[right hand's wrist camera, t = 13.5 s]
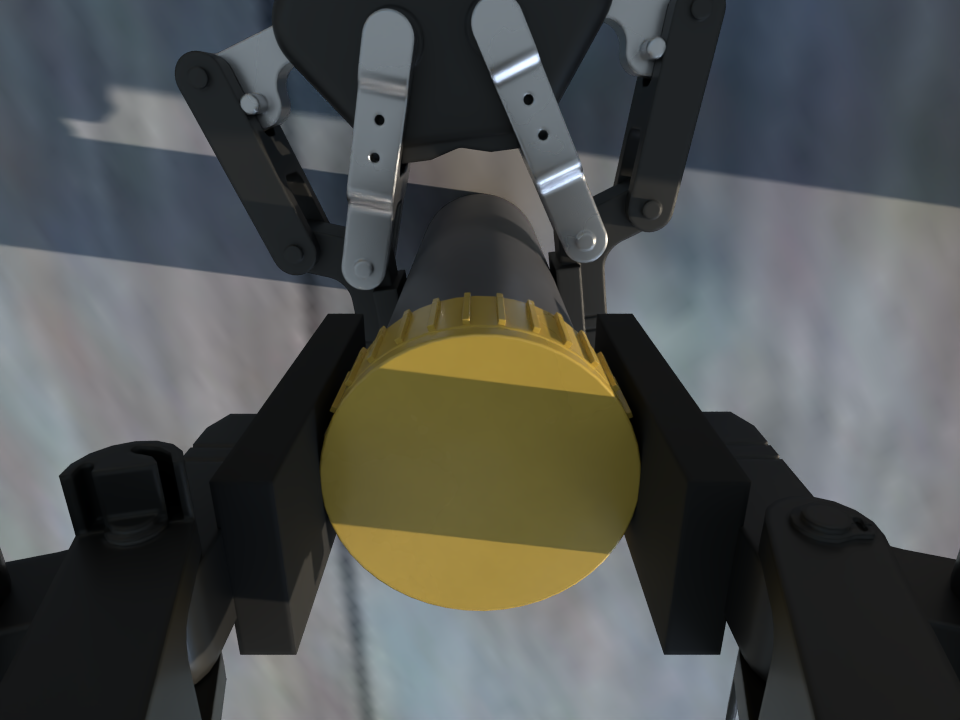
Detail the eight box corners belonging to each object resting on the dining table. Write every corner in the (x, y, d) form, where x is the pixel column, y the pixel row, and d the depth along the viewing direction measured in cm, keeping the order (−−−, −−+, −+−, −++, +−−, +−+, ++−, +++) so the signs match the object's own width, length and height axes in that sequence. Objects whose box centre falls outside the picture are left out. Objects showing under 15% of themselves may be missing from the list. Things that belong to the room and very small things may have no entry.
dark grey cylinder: (435, 181, 24) (365, 311, 9) (550, 208, 25) (658, 375, 10) (413, 293, 26) (322, 554, 11) (520, 317, 26) (574, 602, 11)
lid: (364, 259, 11) (340, 293, 9) (659, 326, 11) (694, 372, 9) (321, 513, 13) (293, 584, 11) (575, 562, 13) (591, 639, 11)
